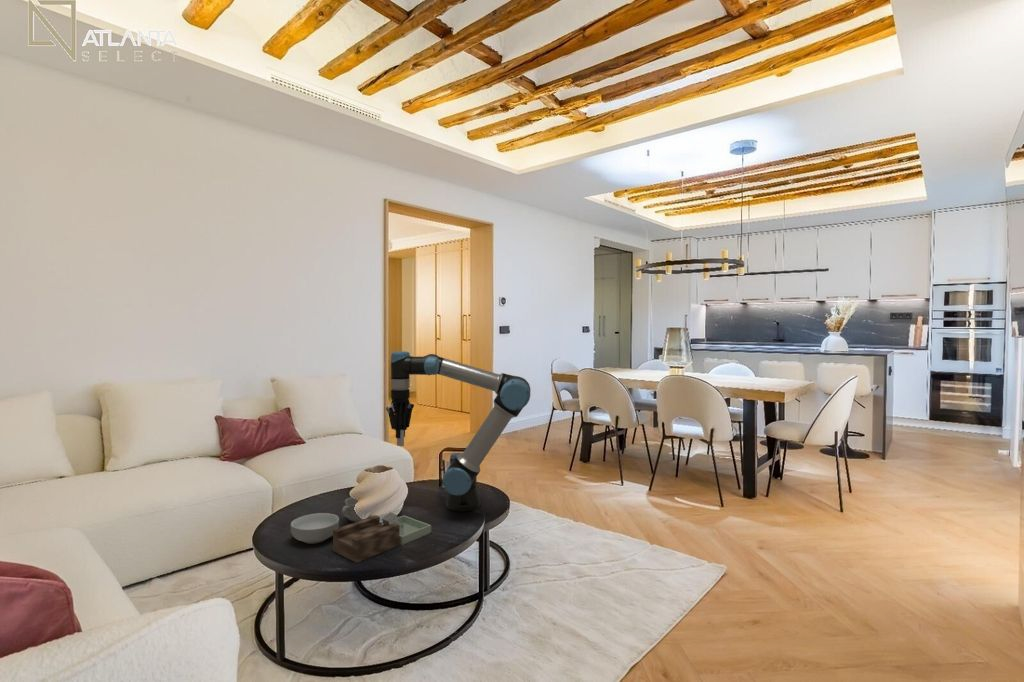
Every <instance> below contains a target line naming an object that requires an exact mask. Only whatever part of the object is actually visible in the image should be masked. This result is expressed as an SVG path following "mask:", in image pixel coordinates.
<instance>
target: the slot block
mask: <svg viewBox="0 0 1024 682" xmlns="http://www.w3.org/2000/svg"><path fill="white" fill-rule="evenodd" d="M380 519H381V518H380V516H378V515H372V516H369V517H368V518H366V519H363V520H361V521H358V522H352V523H349V524H347V525H343V526H341V527H338V529H335V530H333V535H332V551H333V552H334V553H336V554H338V555H341V556H342V557H343V558H346V559H347V560H350V561H353V562H354V563H356V564H358V563H360V562H362V560H363V561H365V560H368V559H370V558H372V557H374V556H376V555H378V554H382V553H384V552H386V551H389V550H390V549H394V548H396V547H398V546H400V545H401V544H400V539H399V524H397V523H393V524H391V525H388V526H385V525H382V523H381V522H380ZM357 562H358V563H357Z"/></svg>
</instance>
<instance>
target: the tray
mask: <svg viewBox="0 0 1024 682" xmlns="http://www.w3.org/2000/svg"><path fill="white" fill-rule="evenodd" d="M397 517H398V520H399V522H400V523H402V524H404V535H400V534H399V539H400V545H401V546H404V545H406V544H409V543H411V542H413V541H416V540H418V539H420V538H422V537H425V536H428V535H430V534H432V525H431V524H429V523H426V522H423V521H421V520H417V519H415V518H412V517H410V516H407V515H405V514H404V515H401V516H397ZM381 524H382V525H384V524H383V522H382V523H381Z"/></svg>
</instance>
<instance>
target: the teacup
mask: <svg viewBox="0 0 1024 682" xmlns="http://www.w3.org/2000/svg"><path fill="white" fill-rule="evenodd" d="M352 497H353V496H351V497H348V498H346V499H345V500H344V506H343V507H342V509H341V515H342V516H343V517H345V518H346V519H347V520H349V521H350V522H352V523H355V522H358V521H361V520H362V519H361V518H360V517H359V516H358V515H357V514H356V512H355V510H354V507H355V504H356V503H357V501H358V500H356V499H353V498H352Z"/></svg>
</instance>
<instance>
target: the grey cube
mask: <svg viewBox="0 0 1024 682" xmlns="http://www.w3.org/2000/svg"><path fill="white" fill-rule="evenodd" d="M399 523H400V522H399ZM399 534H400V535H404V524H402V523H400V524H399Z"/></svg>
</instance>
